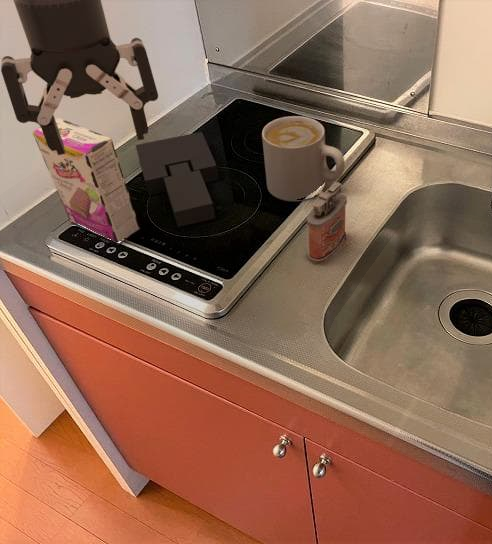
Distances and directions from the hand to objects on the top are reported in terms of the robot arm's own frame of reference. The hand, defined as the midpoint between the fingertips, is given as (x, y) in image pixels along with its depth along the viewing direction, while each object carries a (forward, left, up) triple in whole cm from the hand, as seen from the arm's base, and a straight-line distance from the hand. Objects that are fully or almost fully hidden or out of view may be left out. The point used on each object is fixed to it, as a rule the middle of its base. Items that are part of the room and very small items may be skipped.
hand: (101, 143), depth 64 cm
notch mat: (+9, +28, -23) cm, 37 cm away
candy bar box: (-4, +16, -23) cm, 29 cm away
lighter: (+26, -1, -23) cm, 35 cm away
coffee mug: (+28, +15, -23) cm, 39 cm away
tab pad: (+9, +18, -23) cm, 31 cm away
